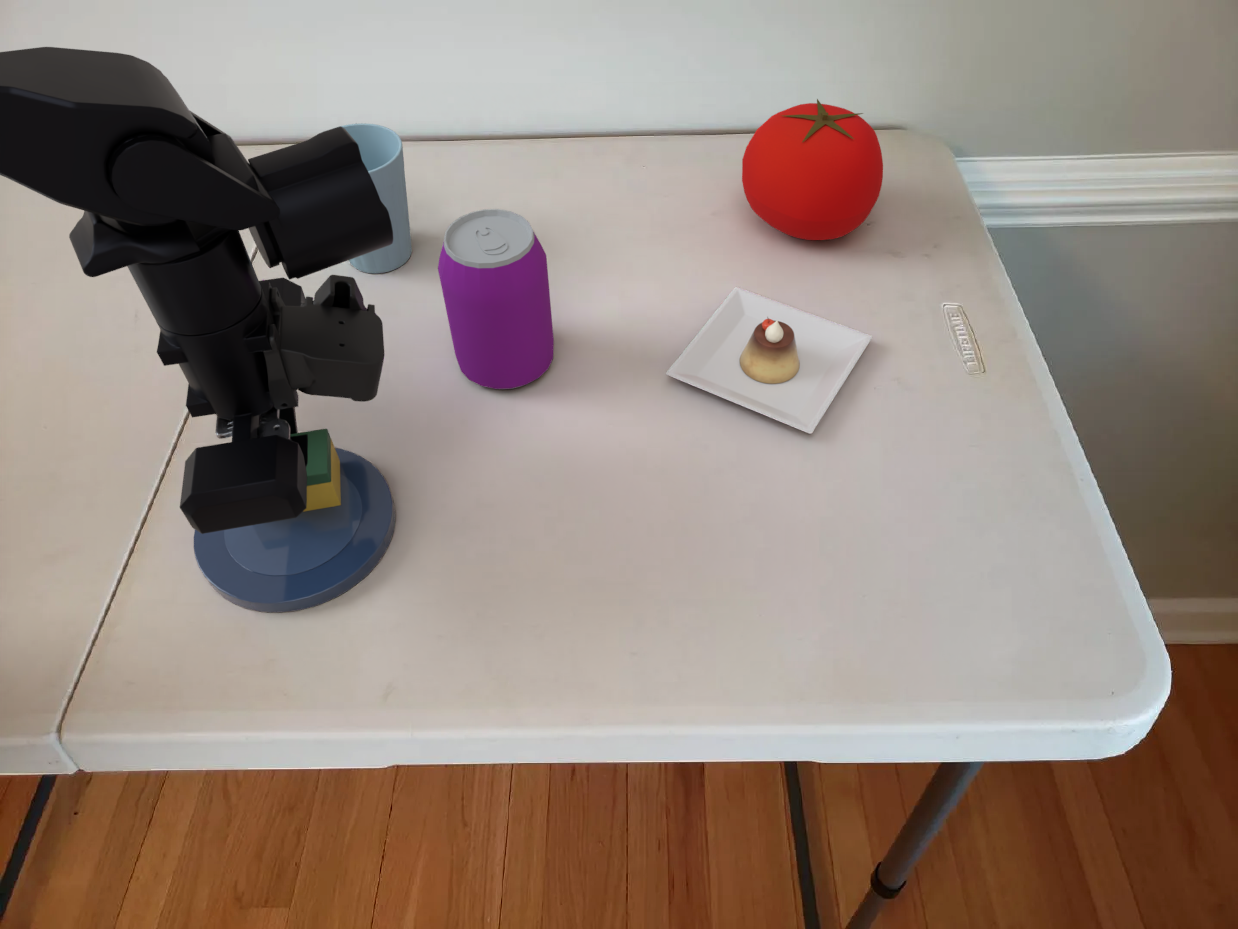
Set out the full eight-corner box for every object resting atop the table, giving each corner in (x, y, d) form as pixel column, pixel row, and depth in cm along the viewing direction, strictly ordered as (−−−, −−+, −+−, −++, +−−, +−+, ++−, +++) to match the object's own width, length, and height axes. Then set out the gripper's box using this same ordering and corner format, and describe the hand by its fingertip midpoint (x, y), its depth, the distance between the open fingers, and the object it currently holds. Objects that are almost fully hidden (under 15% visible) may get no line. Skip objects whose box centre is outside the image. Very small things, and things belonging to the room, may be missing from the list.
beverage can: (443, 348, 74) (416, 222, 64) (530, 317, 76) (516, 191, 67) (481, 409, 69) (457, 284, 60) (572, 374, 72) (563, 248, 62)
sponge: (249, 521, 61) (231, 488, 59) (252, 475, 64) (235, 442, 61) (340, 505, 62) (327, 472, 59) (339, 461, 65) (327, 427, 62)
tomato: (892, 212, 85) (920, 105, 76) (833, 279, 79) (857, 171, 70) (778, 170, 89) (793, 65, 81) (714, 230, 83) (723, 124, 75)
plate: (192, 630, 57) (184, 620, 56) (206, 473, 66) (199, 462, 65) (402, 591, 59) (398, 580, 58) (390, 442, 67) (386, 431, 66)
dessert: (734, 296, 77) (740, 249, 74) (870, 346, 73) (882, 299, 70) (664, 384, 71) (666, 337, 67) (809, 444, 67) (819, 398, 63)
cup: (442, 242, 82) (421, 136, 74) (389, 292, 78) (361, 185, 70) (374, 219, 85) (346, 114, 77) (319, 266, 80) (284, 160, 72)
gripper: (363, 396, 45) (420, 573, 57) (353, 186, 57) (403, 369, 69) (127, 434, 44) (236, 606, 56) (167, 211, 56) (251, 392, 68)
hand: (291, 481), depth 62 cm, fingers closed on sponge, 4 cm apart
